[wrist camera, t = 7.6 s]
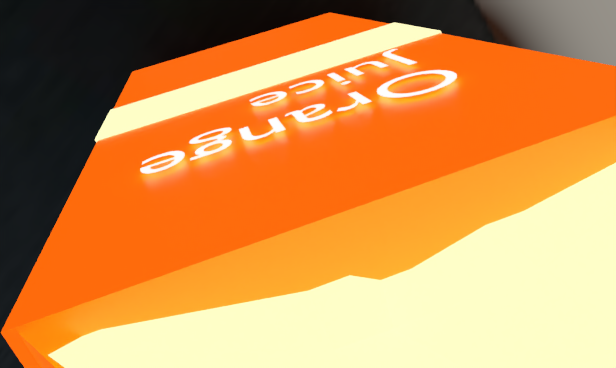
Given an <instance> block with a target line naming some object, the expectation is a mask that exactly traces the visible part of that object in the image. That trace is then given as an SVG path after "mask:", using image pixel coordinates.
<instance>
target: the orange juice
mask: <svg viewBox="0 0 616 368" xmlns="http://www.w3.org/2000/svg"><path fill="white" fill-rule="evenodd" d="M95 141H96V145H95V147H94V149H93V151H92V153H91V155H90V157H89V159H88V161H87V163H86V165H85V167H84V169H83V171H82V172H81V174H80V176H79V178H78V180H77V182H76V184H75V186H74V188H73V190H72V192H71V194H70V196H69V198H68V200H67V202H66V204H65V206H64V208H63V210H62V212H61V214H60V216H59V218H58V220H57V222H56V224H55V226H54V228H53V230H52V232H51V234H50V236H49V238H48V240H47V242H46V244H45V246H44V248H43V250H42V252H41V254H40V256H39V258H38V260H37V262H36V264H35V266H34V268H33V270H32V272H31V274H30V276H29V278H28V280H27V282H26V284H25V286H24V288H23V290H22V291H21V293H20V295H19V297H18V299H17V301H16V303H15V305H14V307H13V309H12V311H11V313H10V315H9V317H8V319H7V321H6V323H5V325H4V327H3V329H2V331H1V334H2V335H3V337H4V338H5V340H6V341H7V342H8V344H9V345H10V347H11V348H12V350H13V351H14V353H15V354H16V356H17V357H18V359H19V360H20V362H21V363H22V365H23V366H24V368H616V66H612V65H606V64H601V63H595V62H590V61H585V60H580V59H574V58H569V57H564V56H558V55H553V54H547V53H542V52H537V51H532V50H526V49H521V48H516V47H510V46H505V45H500V44H494V43H489V42H484V41H479V40H473V39H468V38H463V37H457V36H452V35H447V34H441V31H440V30H434V29H428V28H423V27H417V26H411V25H406V24H400V23H395V22H394V23H391V24H388V23H383V22H377V21H372V20H367V19H361V18H356V17H351V16H345V15H340V14H335V13H326V14H323V15H320V16H316V17H313V18H310V19H306V20H303V21H300V22H296V23H293V24H290V25H286V26H283V27H280V28H276V29H273V30H270V31H266V32H263V33H260V34H257V35H253V36H250V37H247V38H243V39H240V40H237V41H233V42H230V43H227V44H223V45H220V46H217V47H213V48H210V49H207V50H203V51H200V52H197V53H193V54H190V55H187V56H183V57H180V58H177V59H173V60H170V61H167V62H163V63H160V64H157V65H153V66H150V67H147V68H143V69H140V70H137V71H133V72H132V73H131V75H130V77H129V79H128V81H127V83H126V85H125V87H124V89H123V91H122V93H121V95H120V97H119V99H118V101H117V103H116V105H115V107H114V109H111V110H110V111H109V113H108V115H107V117H106V119H105V121H104V123H103V125H102V127H101V128H100V130H99V132H98V134H97V136H96V138H95Z"/></svg>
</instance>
